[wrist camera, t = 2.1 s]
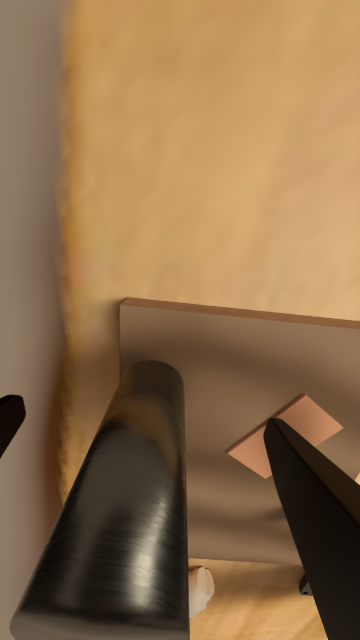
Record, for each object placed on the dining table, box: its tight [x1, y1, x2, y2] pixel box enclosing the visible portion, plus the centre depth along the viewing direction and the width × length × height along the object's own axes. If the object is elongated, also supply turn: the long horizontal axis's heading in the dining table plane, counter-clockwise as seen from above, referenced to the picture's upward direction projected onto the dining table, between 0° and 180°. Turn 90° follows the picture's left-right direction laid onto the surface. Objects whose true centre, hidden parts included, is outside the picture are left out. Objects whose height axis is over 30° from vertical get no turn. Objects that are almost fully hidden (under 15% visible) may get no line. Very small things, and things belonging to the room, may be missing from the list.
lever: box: [10, 360, 190, 640], centre depth 10 cm, size 19×4×8 cm, turn 174°
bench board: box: [120, 298, 360, 565], centre depth 13 cm, size 22×16×4 cm
